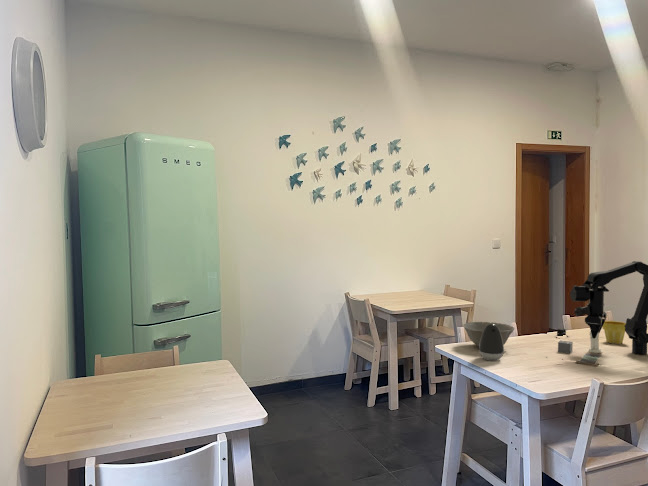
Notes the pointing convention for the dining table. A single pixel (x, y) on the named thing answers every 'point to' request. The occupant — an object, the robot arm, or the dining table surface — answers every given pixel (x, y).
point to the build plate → (561, 332)
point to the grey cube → (565, 346)
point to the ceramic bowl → (477, 328)
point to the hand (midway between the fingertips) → (595, 336)
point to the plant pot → (614, 331)
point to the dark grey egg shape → (491, 343)
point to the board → (591, 359)
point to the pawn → (594, 344)
